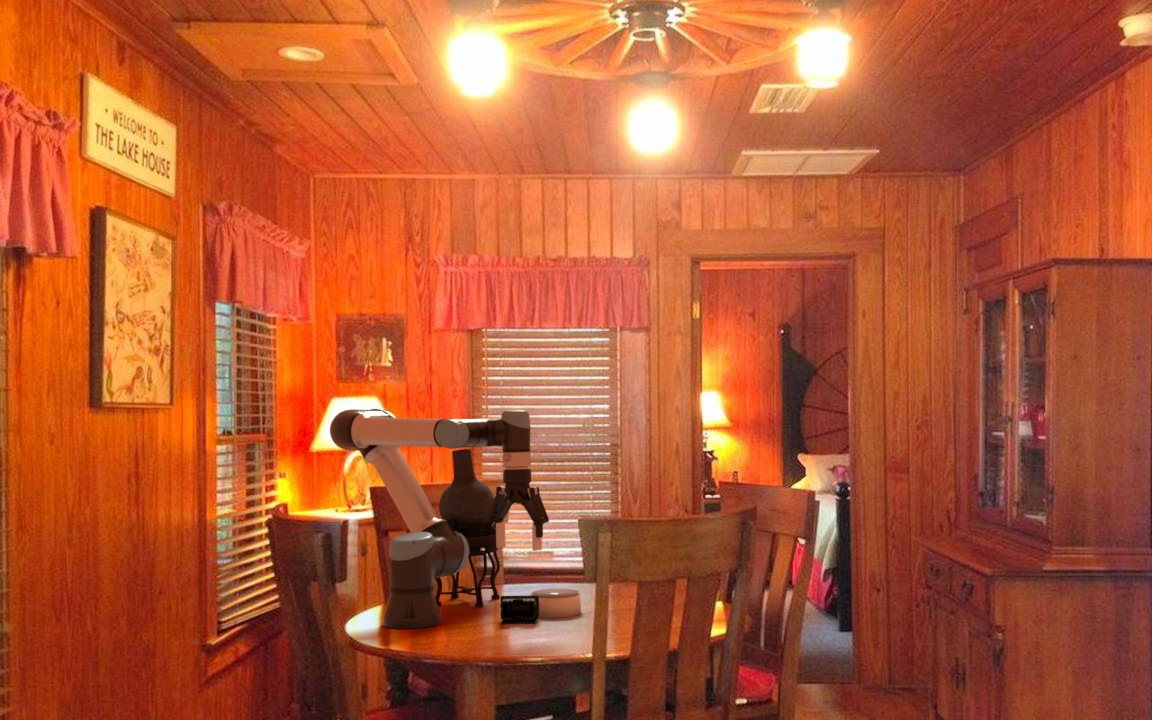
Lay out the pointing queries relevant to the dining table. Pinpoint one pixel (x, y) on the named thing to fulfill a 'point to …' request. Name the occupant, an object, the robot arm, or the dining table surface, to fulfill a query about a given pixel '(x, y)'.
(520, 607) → the end cap
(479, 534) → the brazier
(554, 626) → the dining table surface
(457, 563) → the robot arm
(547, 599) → the stand
